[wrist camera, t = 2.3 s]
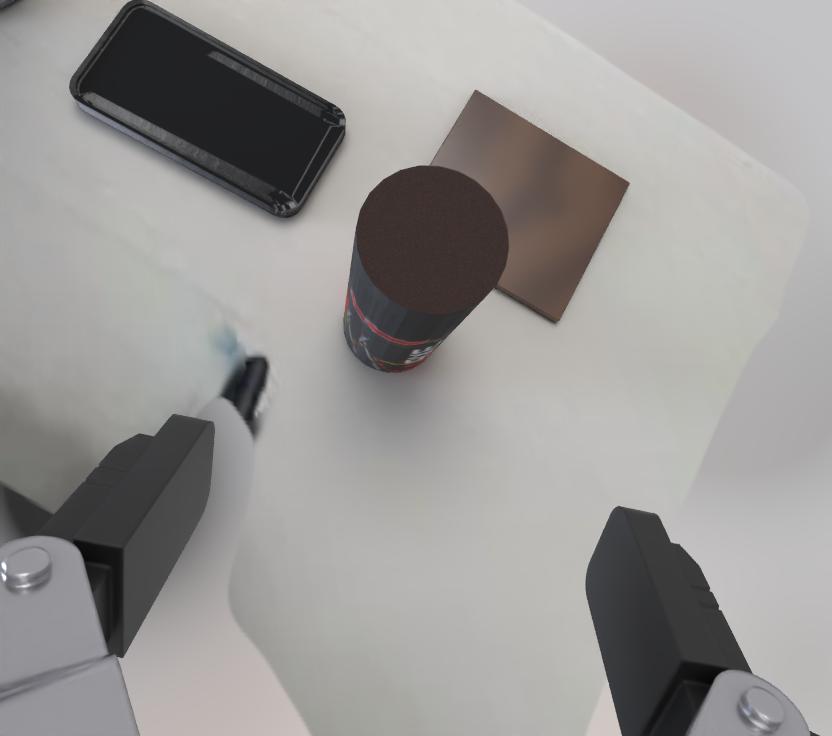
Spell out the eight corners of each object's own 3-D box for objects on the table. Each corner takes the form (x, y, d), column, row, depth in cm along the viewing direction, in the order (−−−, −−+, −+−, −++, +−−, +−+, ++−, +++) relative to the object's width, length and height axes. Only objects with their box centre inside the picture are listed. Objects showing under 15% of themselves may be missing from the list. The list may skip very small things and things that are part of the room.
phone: (290, 217, 37) (60, 91, 36) (291, 224, 38) (68, 102, 37) (353, 113, 39) (134, -10, 38) (352, 123, 40) (139, 3, 39)
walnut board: (392, 227, 39) (394, 224, 39) (473, 94, 42) (475, 88, 41) (555, 323, 40) (559, 321, 39) (626, 186, 42) (630, 182, 42)
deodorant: (386, 392, 38) (426, 346, 23) (323, 317, 38) (322, 224, 23) (458, 331, 39) (540, 251, 24) (397, 259, 39) (441, 136, 24)
